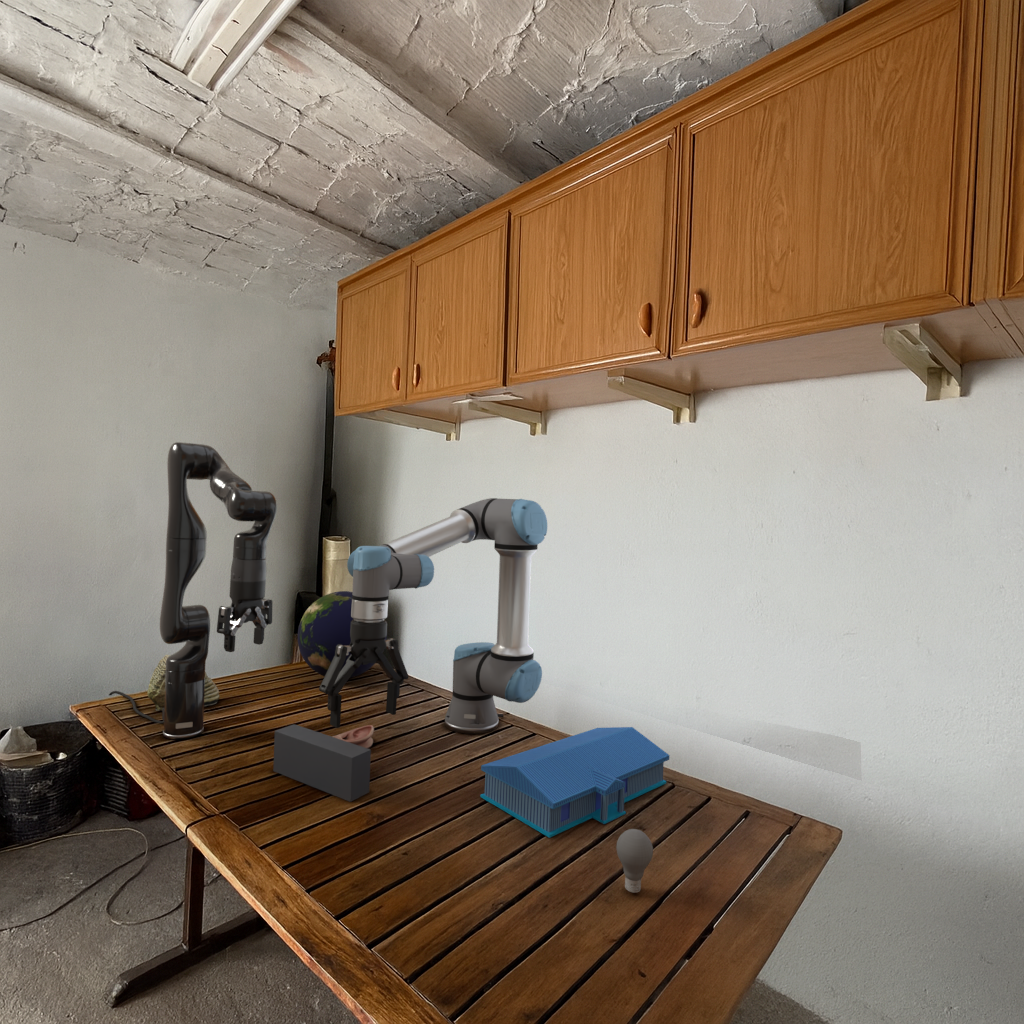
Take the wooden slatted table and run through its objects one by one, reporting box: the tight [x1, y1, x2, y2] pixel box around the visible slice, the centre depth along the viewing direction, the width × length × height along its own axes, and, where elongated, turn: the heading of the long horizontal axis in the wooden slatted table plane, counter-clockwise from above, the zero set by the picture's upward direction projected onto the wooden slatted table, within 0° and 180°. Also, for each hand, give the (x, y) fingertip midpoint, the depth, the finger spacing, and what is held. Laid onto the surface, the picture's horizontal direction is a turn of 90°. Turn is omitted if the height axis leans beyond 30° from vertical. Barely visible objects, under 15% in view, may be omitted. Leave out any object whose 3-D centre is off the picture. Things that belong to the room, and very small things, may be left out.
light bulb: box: [615, 828, 654, 894], centre depth 106 cm, size 6×6×10 cm
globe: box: [297, 590, 388, 679], centre depth 220 cm, size 30×30×30 cm
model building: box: [479, 726, 670, 839], centre depth 141 cm, size 39×24×10 cm, turn 132°
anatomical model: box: [330, 724, 375, 749], centre depth 162 cm, size 13×4×12 cm
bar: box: [272, 724, 372, 803], centre depth 141 cm, size 25×6×9 cm, turn 59°
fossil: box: [147, 654, 221, 712], centre depth 185 cm, size 9×18×15 cm, turn 132°
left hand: (244, 647), depth 146 cm, fingers open, 8 cm apart
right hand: (363, 719), depth 134 cm, fingers open, 13 cm apart
